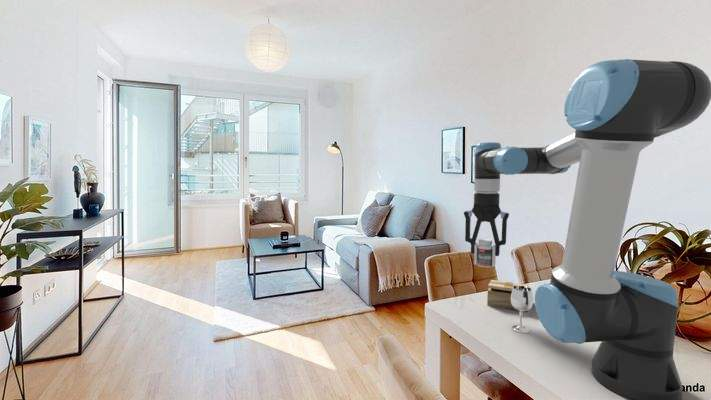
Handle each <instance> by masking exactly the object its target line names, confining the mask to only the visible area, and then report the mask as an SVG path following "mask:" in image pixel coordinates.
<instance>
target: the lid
mask: <svg viewBox="0 0 711 400" xmlns="http://www.w3.org/2000/svg"><path fill="white" fill-rule="evenodd" d="M514 286H526V287H529V284H525V283H518V282H512V281H502V280H501V281H500V280H495V279H490V281H489V282H488V285H487V288H488V289H489V288H494V289H501V290H508V291H512V289H513V287H514ZM529 288H530V287H529Z"/></svg>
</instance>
